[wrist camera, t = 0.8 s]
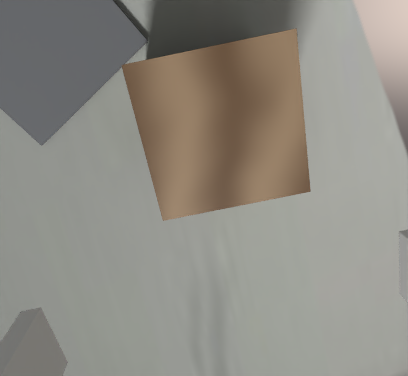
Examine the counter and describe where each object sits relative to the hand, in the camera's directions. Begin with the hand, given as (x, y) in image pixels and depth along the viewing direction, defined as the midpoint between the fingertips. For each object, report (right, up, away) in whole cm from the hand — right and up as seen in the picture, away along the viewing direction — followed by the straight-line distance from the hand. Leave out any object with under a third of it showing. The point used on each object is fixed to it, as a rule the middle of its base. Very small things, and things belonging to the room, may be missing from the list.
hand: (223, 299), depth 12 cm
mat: (-17, +19, +19) cm, 31 cm away
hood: (0, +12, +22) cm, 25 cm away
